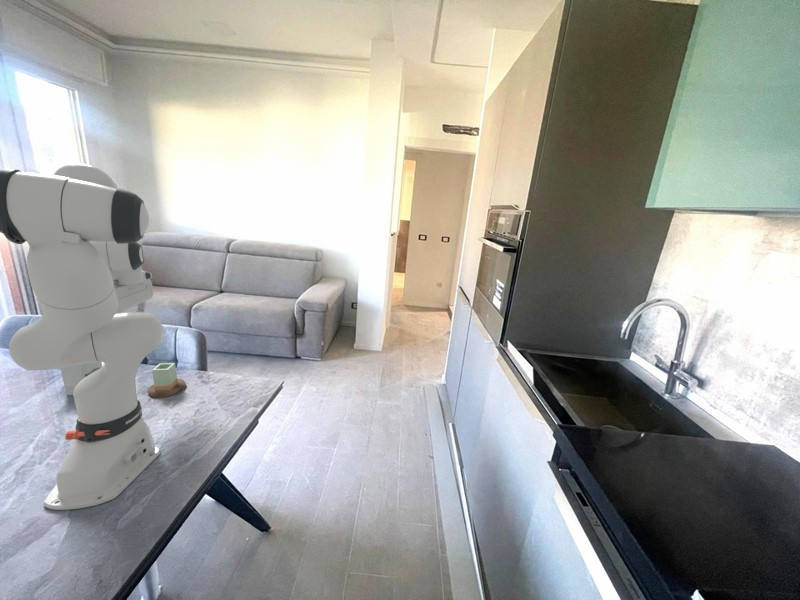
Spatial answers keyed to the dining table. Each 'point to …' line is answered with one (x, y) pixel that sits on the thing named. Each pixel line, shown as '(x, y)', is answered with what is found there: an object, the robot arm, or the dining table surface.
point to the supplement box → (77, 375)
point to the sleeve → (164, 376)
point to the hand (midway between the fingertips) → (132, 319)
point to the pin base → (167, 393)
